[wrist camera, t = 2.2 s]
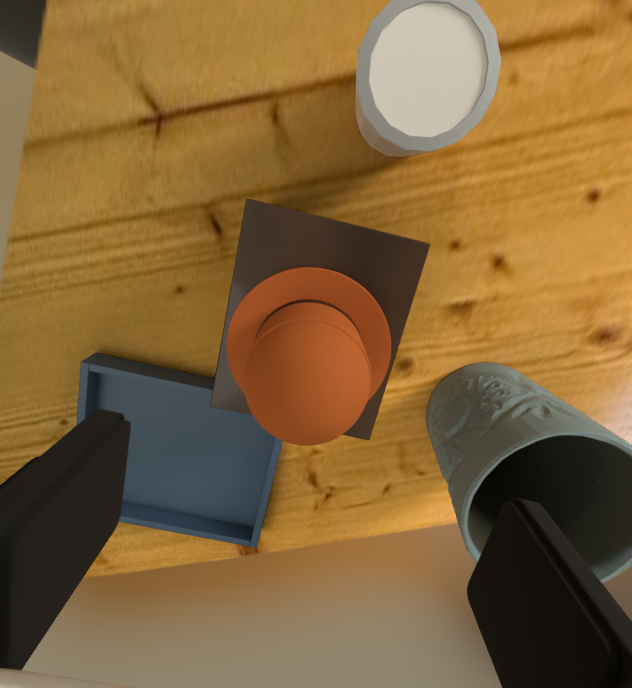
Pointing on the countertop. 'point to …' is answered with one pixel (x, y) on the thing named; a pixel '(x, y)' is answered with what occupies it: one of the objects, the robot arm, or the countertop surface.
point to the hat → (308, 353)
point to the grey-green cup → (531, 462)
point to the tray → (183, 451)
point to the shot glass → (425, 75)
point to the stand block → (329, 253)
